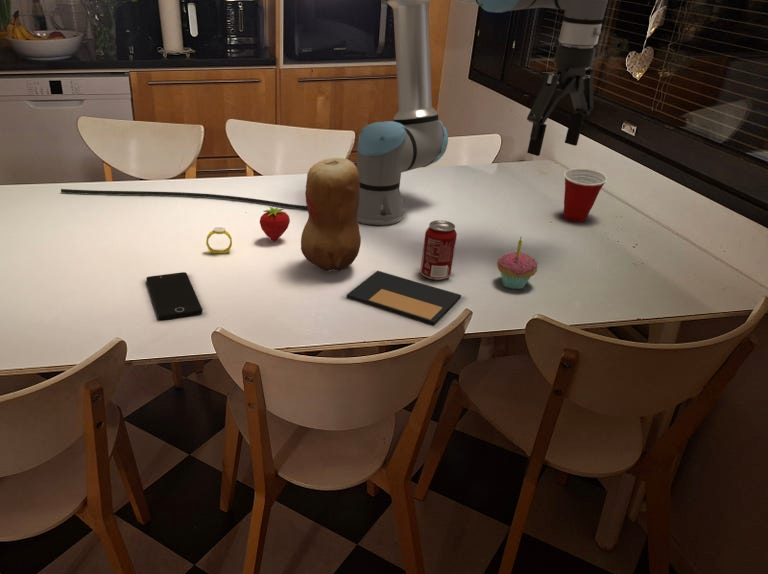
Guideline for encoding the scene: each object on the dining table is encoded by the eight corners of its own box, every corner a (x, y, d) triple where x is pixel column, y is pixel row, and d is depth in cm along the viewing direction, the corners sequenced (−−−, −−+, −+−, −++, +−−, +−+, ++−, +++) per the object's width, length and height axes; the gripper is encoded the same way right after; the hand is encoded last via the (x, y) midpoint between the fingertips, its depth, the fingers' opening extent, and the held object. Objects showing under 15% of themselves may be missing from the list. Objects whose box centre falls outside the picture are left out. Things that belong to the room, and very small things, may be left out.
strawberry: (293, 244, 167) (293, 205, 162) (263, 248, 165) (263, 208, 160) (285, 235, 172) (285, 196, 166) (256, 238, 170) (256, 200, 164)
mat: (346, 297, 145) (346, 294, 144) (377, 273, 155) (377, 270, 154) (433, 325, 136) (434, 321, 135) (460, 298, 145) (461, 294, 145)
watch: (206, 255, 161) (205, 231, 158) (206, 250, 163) (205, 227, 160) (232, 254, 162) (231, 231, 158) (231, 249, 164) (231, 226, 161)
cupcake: (526, 296, 146) (538, 245, 140) (487, 286, 150) (498, 235, 143) (537, 281, 152) (549, 231, 146) (499, 272, 156) (510, 222, 149)
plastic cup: (552, 222, 182) (562, 178, 175) (555, 208, 190) (565, 165, 183) (595, 228, 178) (608, 183, 172) (596, 214, 187) (608, 171, 180)
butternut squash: (291, 261, 159) (293, 154, 145) (342, 252, 164) (349, 147, 150) (316, 286, 149) (321, 174, 135) (370, 276, 153) (380, 166, 139)
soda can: (449, 283, 151) (458, 232, 144) (419, 280, 152) (425, 229, 145) (450, 270, 157) (458, 220, 150) (420, 267, 158) (427, 218, 151)
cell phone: (159, 320, 136) (158, 316, 135) (146, 280, 150) (145, 276, 149) (203, 313, 138) (202, 309, 137) (186, 275, 152) (185, 271, 152)
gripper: (555, 53, 131) (531, 163, 143) (627, 42, 143) (599, 144, 155) (523, 47, 136) (502, 153, 148) (596, 37, 148) (571, 136, 160)
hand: (552, 149), depth 151 cm, fingers open, 13 cm apart
